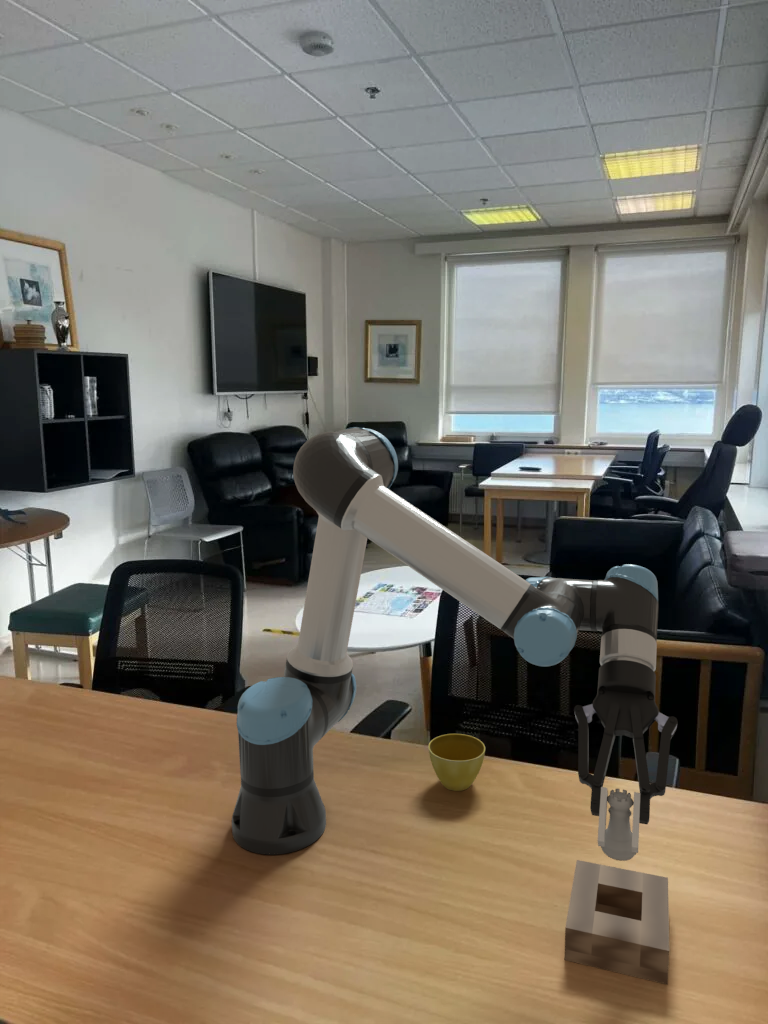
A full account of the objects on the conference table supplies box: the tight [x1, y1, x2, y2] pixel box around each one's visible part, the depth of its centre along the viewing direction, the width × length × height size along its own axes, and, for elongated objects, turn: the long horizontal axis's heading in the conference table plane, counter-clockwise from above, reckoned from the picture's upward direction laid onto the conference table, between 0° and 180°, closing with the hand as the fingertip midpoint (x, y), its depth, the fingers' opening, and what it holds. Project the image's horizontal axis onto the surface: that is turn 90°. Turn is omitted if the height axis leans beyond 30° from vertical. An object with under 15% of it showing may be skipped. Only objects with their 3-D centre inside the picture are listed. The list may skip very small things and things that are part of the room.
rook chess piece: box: [600, 788, 637, 862], centre depth 95 cm, size 4×4×8 cm
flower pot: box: [427, 733, 486, 792], centre depth 133 cm, size 10×10×7 cm
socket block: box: [563, 859, 670, 985], centre depth 97 cm, size 12×14×4 cm
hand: (617, 846), depth 91 cm, fingers closed on rook chess piece, 3 cm apart
